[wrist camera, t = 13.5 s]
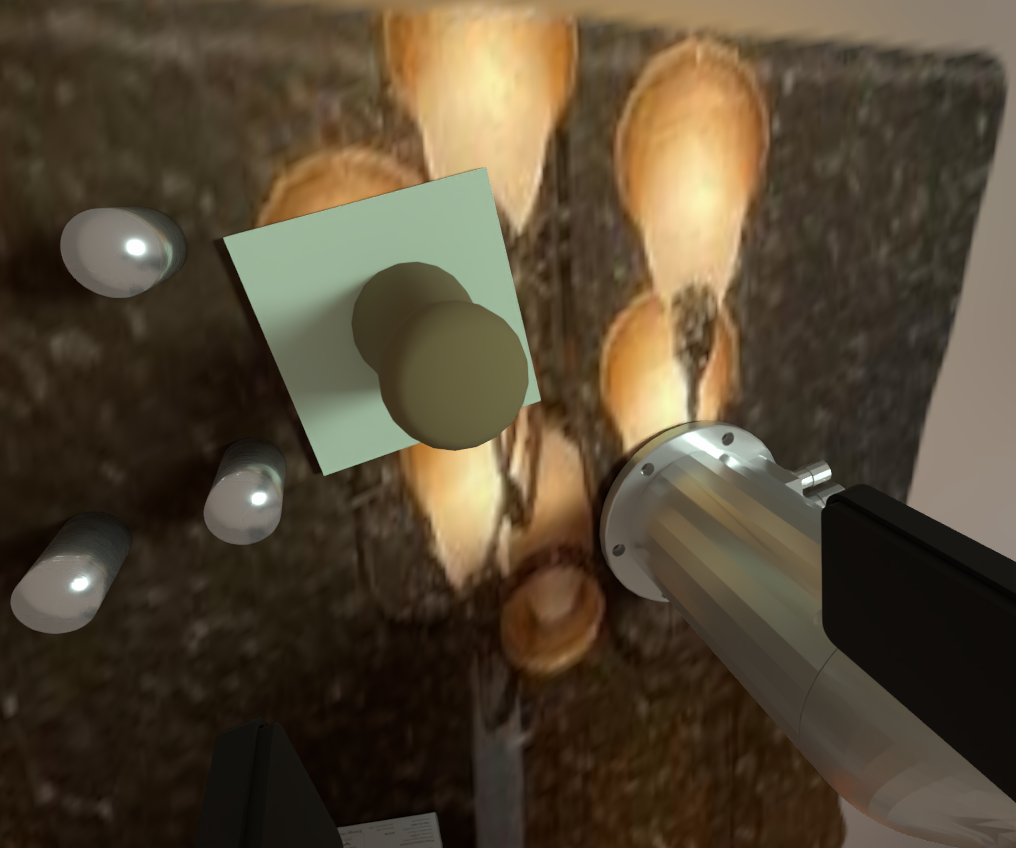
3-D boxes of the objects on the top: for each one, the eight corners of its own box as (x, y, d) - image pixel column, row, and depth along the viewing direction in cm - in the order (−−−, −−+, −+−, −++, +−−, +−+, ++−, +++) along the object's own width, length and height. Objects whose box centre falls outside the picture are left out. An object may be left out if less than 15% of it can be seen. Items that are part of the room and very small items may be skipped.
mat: (482, 167, 28) (486, 166, 27) (537, 397, 33) (540, 400, 32) (224, 236, 26) (222, 237, 25) (324, 470, 31) (324, 475, 30)
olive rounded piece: (333, 280, 27) (342, 327, 17) (459, 247, 28) (534, 273, 18) (373, 399, 30) (401, 500, 20) (487, 365, 31) (567, 443, 21)
